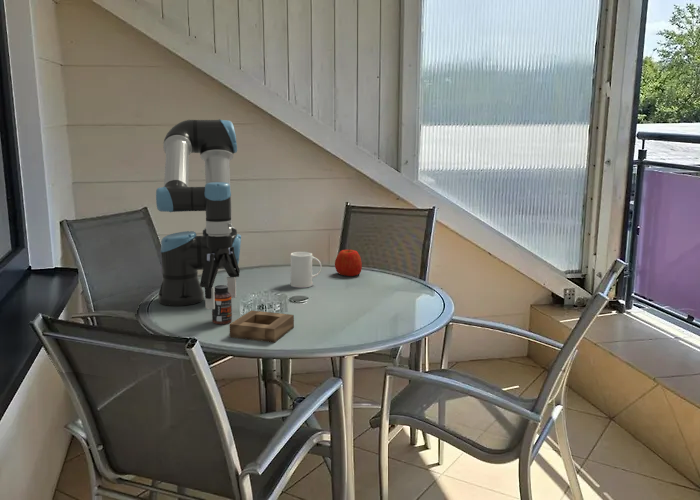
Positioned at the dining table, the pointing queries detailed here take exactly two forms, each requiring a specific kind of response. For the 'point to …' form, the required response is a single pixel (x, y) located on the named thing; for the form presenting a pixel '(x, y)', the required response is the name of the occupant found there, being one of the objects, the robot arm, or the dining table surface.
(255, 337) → the holder block
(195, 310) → the dining table surface
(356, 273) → the apple
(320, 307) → the dining table surface
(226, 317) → the supplement bottle
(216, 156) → the robot arm
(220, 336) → the dining table surface
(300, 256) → the mug
